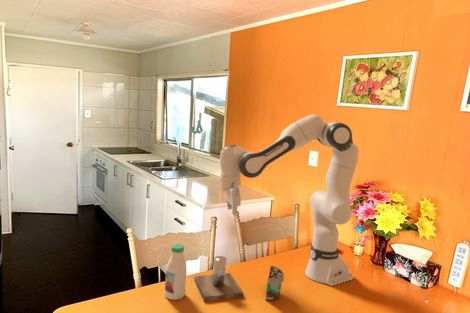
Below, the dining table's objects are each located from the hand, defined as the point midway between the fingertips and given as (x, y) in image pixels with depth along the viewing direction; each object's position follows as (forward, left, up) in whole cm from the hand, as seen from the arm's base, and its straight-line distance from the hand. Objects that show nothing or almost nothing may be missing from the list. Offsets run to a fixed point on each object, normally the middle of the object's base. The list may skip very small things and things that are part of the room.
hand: (232, 211), depth 150 cm
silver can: (+9, +15, -26) cm, 31 cm away
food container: (-12, +25, -28) cm, 39 cm away
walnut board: (+9, +15, -28) cm, 33 cm away
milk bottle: (+27, +16, -28) cm, 42 cm away
